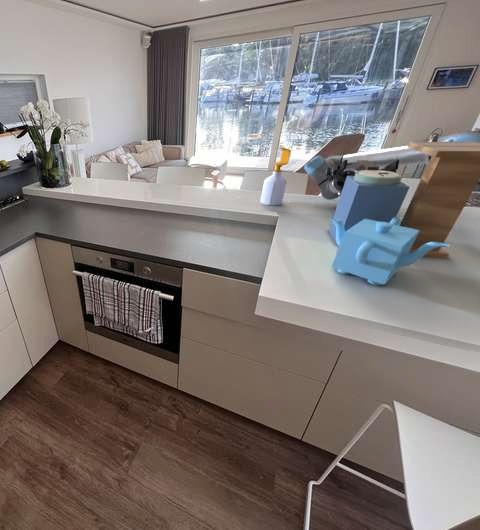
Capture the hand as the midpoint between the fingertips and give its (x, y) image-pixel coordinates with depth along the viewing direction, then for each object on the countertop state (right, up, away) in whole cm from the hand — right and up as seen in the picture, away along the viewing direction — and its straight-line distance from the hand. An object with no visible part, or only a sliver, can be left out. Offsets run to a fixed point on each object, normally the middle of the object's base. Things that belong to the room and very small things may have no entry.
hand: (370, 164), depth 92 cm
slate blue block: (-1, -24, +5) cm, 25 cm away
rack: (+11, -26, 0) cm, 29 cm away
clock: (-1, -4, 0) cm, 4 cm away
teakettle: (-11, -35, -11) cm, 38 cm away
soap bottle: (-10, -4, +42) cm, 43 cm away
